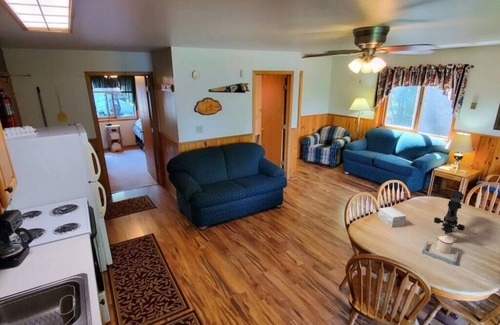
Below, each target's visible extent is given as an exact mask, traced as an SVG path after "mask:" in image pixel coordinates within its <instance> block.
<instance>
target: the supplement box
mask: <svg viewBox="0 0 500 325" xmlns="http://www.w3.org/2000/svg"><path fill="white" fill-rule="evenodd" d="M406 217H407V215H406V214H404V213H403V212H401V211H399V210H398V209H396V208H394V207H393V206H388V207H380V208H379V209H378V215H377V218H378V219H379V218H380V219H379V220H381V221H382V222H384V223H385V224H387V225H388V226H389V227H391V228H393V227H401V226H405V224H406V223H405V222H406V219H407V218H406Z"/></svg>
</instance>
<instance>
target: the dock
mask: <svg viewBox="0 0 500 325" xmlns="http://www.w3.org/2000/svg"><path fill="white" fill-rule="evenodd" d="M428 245H429V241H427V240H426V242H425V244H424V246H423V249H422V253H421V254H423V255H426V256H428V257H431V258H434V259H436V260H439V261H442V262H444V263H447V264H450V265H453V266H456V264H457V261H458V260H457V259H458V255H459V251H458V250H455V254H454V257H453V259H450V258H448V257H445V256H442V255H439V254H436V253H433V252H431V251H428V250H427V248H428Z"/></svg>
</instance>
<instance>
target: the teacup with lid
mask: <svg viewBox="0 0 500 325" xmlns="http://www.w3.org/2000/svg"><path fill="white" fill-rule="evenodd" d="M453 245H454V240H453V239H452V238H451V237H449V236H448V235H439V236H437V237H436V246H435V248H436V251H438V252H440V253H443V254H450V253H451V251H452V246H453Z"/></svg>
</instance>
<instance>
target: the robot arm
mask: <svg viewBox="0 0 500 325" xmlns="http://www.w3.org/2000/svg"><path fill="white" fill-rule="evenodd" d="M464 196H465V194H464V193H463V192H462V191H458V190H454V191H451V194H450V200H449V201H448V203H447V207H448V209H447V212H446V214H445V215H444V218H443V220H442V218H440V217H437V216H435V217H434V219H433V223H435V224H442V228H441V230H442V231H444V233H445V235H448V234H451V233H454V232H455V230H454V229H455V228H457V230H458V231H462V232H464V230H465V229H466V228H465V224H461V223H458V222H459V221H458V219H459V217H458V216H457V214H458V210H460V209H462V201H463V200H464Z"/></svg>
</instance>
